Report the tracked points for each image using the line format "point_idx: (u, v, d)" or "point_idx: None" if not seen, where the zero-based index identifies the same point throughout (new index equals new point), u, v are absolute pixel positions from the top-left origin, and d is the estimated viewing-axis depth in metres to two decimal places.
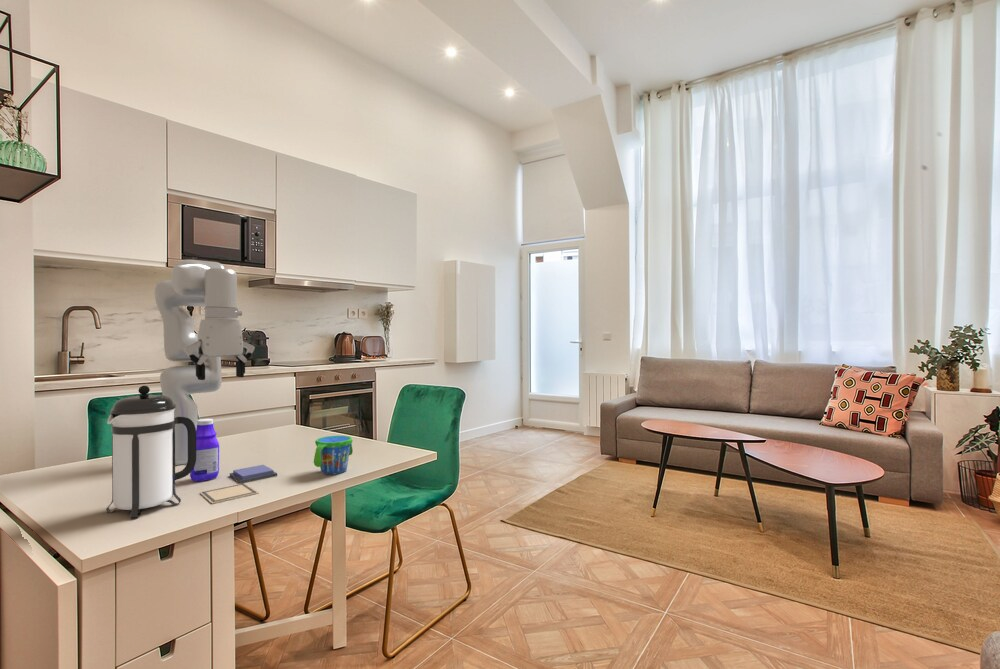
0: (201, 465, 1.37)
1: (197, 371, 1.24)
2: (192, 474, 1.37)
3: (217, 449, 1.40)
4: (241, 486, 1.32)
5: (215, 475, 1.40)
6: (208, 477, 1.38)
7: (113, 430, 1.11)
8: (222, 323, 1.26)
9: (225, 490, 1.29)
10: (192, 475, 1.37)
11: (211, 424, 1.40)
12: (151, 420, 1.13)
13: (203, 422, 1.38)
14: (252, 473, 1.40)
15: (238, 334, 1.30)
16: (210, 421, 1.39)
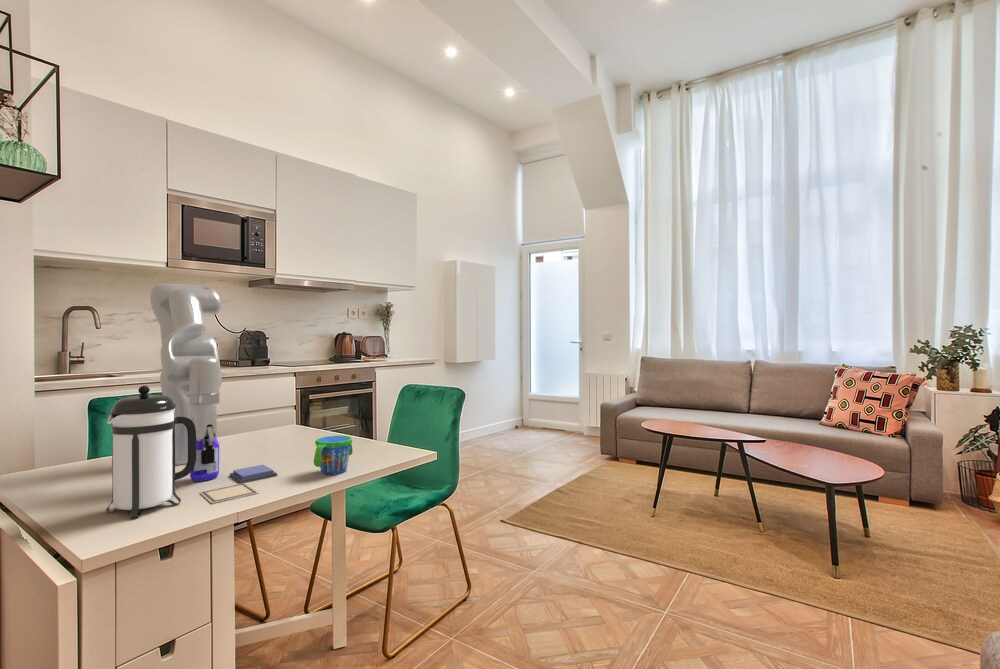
0: (201, 465, 1.37)
1: (210, 456, 1.37)
2: (192, 474, 1.37)
3: (217, 449, 1.40)
4: (241, 486, 1.32)
5: (215, 475, 1.40)
6: (208, 477, 1.38)
7: (113, 430, 1.11)
8: None
9: (225, 490, 1.29)
10: (192, 475, 1.37)
11: None
12: (151, 420, 1.13)
13: None
14: (252, 473, 1.40)
15: None
16: None
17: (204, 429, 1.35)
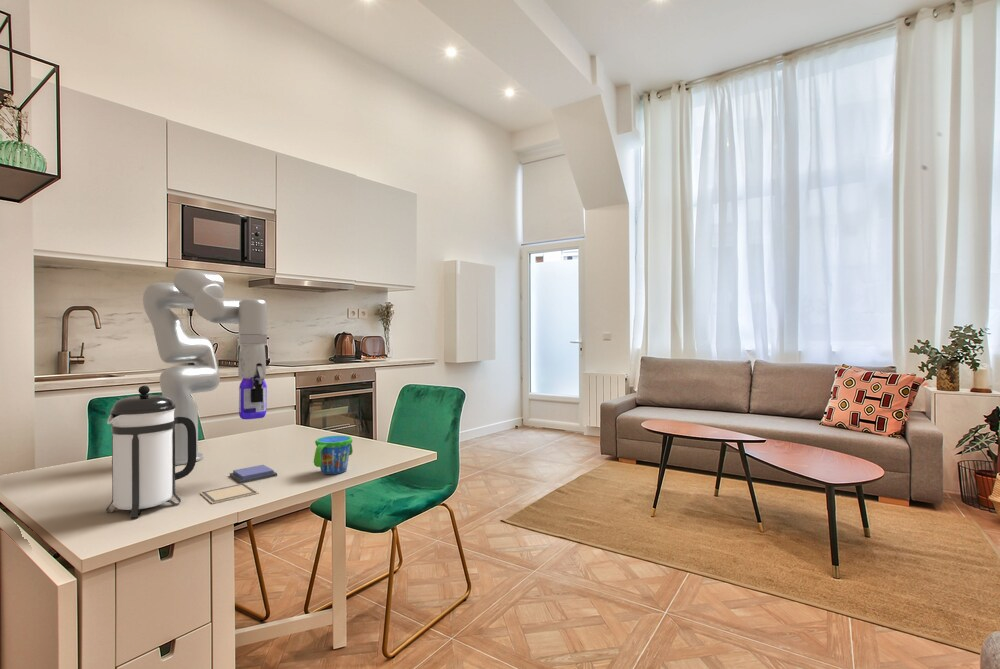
0: (250, 403, 1.40)
1: (259, 394, 1.40)
2: (242, 412, 1.40)
3: (265, 389, 1.43)
4: (241, 486, 1.32)
5: (263, 414, 1.43)
6: (257, 416, 1.41)
7: (113, 430, 1.11)
8: None
9: (225, 490, 1.29)
10: (242, 413, 1.40)
11: None
12: (151, 420, 1.13)
13: None
14: (252, 473, 1.40)
15: None
16: None
17: (254, 367, 1.38)
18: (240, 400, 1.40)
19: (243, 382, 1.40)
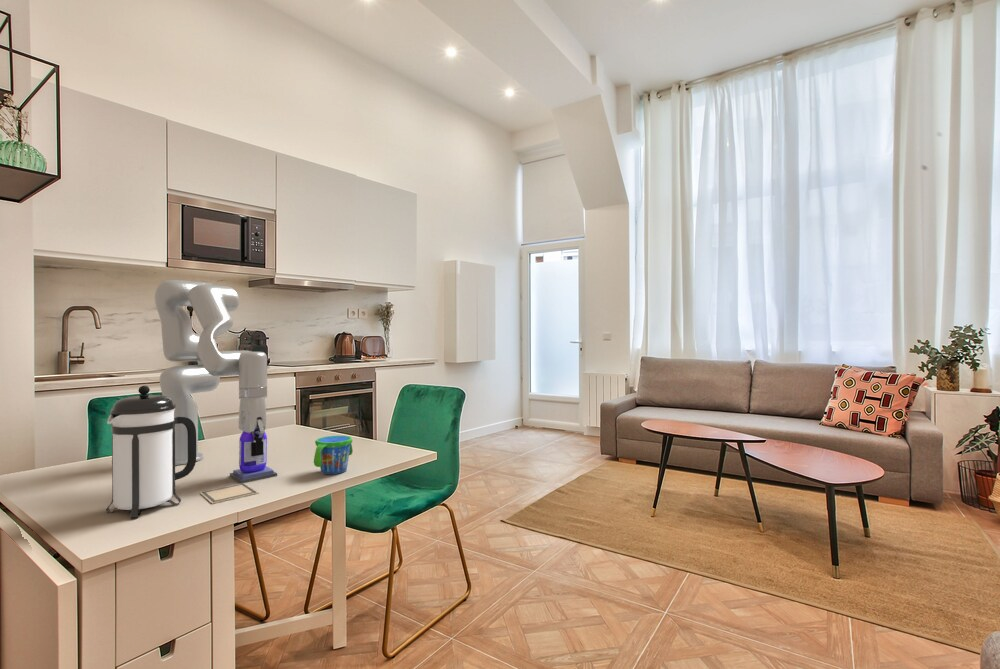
0: (250, 456, 1.40)
1: (259, 448, 1.40)
2: (242, 465, 1.40)
3: (265, 441, 1.43)
4: (241, 486, 1.32)
5: (263, 466, 1.43)
6: (257, 468, 1.41)
7: (113, 430, 1.11)
8: None
9: (225, 490, 1.29)
10: (242, 466, 1.40)
11: None
12: (151, 420, 1.13)
13: None
14: (252, 473, 1.40)
15: None
16: None
17: (254, 422, 1.38)
18: (240, 453, 1.40)
19: (243, 435, 1.40)
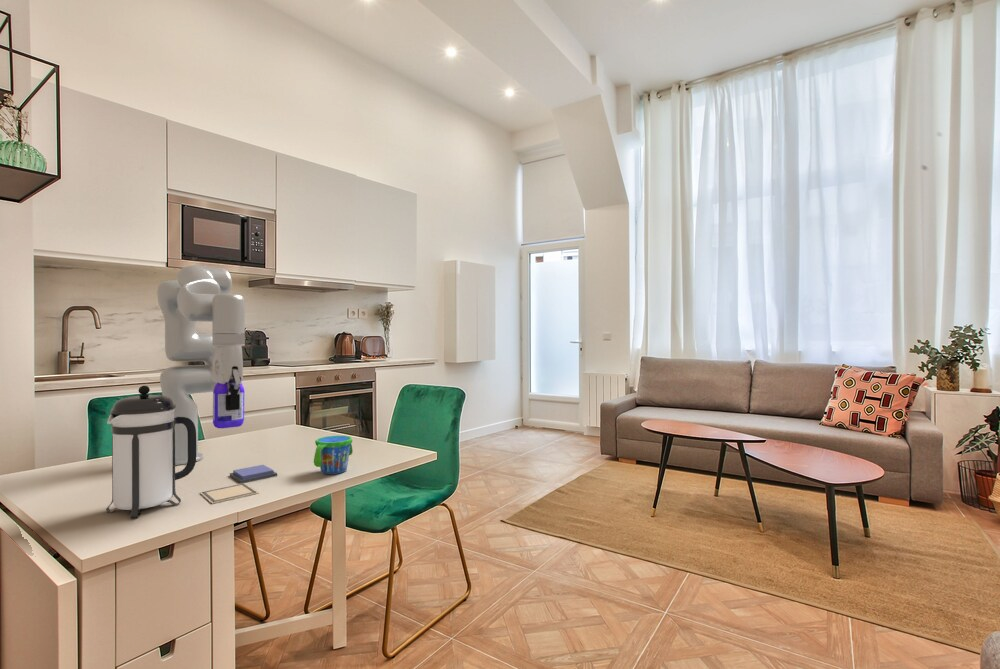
0: (225, 410, 1.24)
1: (235, 401, 1.25)
2: (215, 420, 1.24)
3: (242, 394, 1.28)
4: (241, 486, 1.32)
5: (240, 422, 1.27)
6: (233, 424, 1.26)
7: (113, 430, 1.11)
8: None
9: (225, 490, 1.29)
10: (215, 421, 1.24)
11: None
12: (151, 420, 1.13)
13: None
14: (252, 473, 1.40)
15: None
16: None
17: (229, 371, 1.23)
18: (214, 407, 1.25)
19: (217, 386, 1.25)
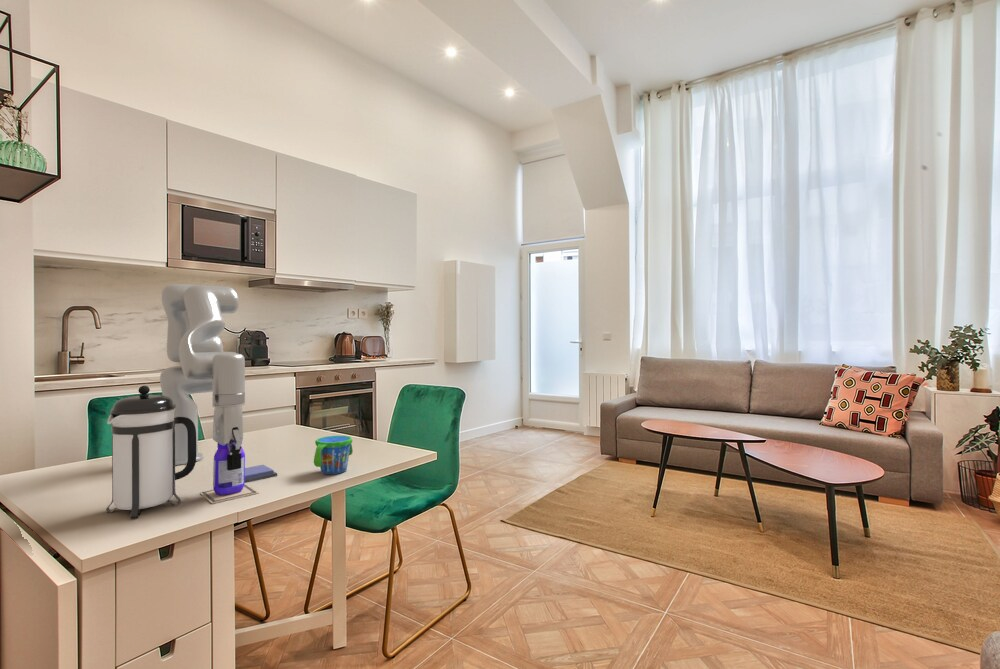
0: (225, 477, 1.25)
1: (236, 461, 1.24)
2: (216, 487, 1.24)
3: (243, 459, 1.28)
4: None
5: (241, 488, 1.28)
6: (233, 490, 1.26)
7: (113, 430, 1.11)
8: None
9: None
10: (216, 488, 1.24)
11: None
12: (151, 420, 1.13)
13: None
14: (252, 473, 1.40)
15: None
16: None
17: (229, 432, 1.23)
18: (214, 473, 1.25)
19: (218, 453, 1.25)
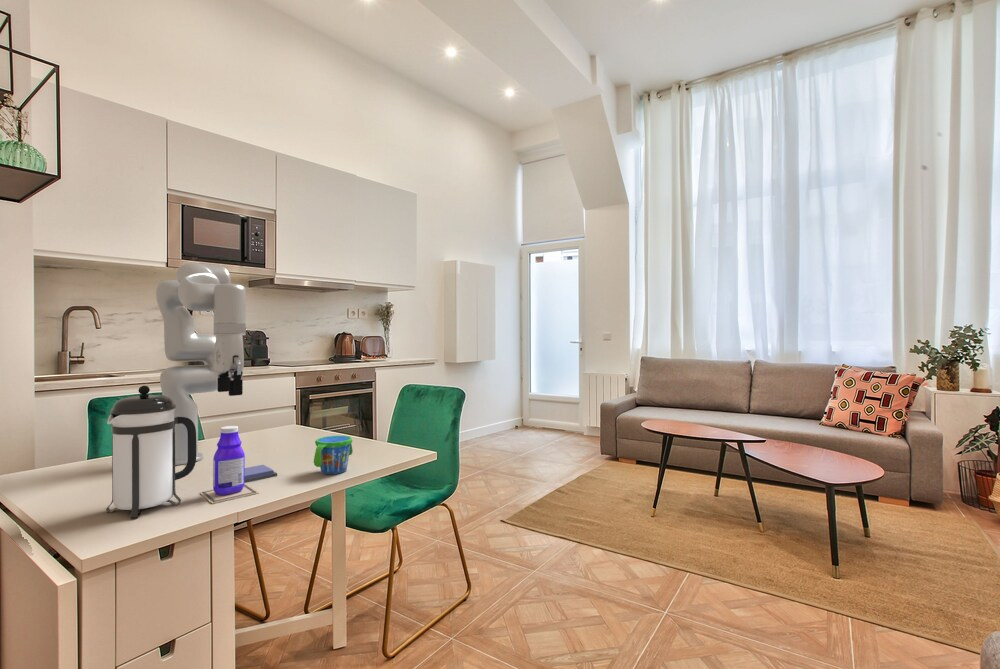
0: (225, 477, 1.25)
1: (238, 387, 1.25)
2: (216, 487, 1.24)
3: (243, 459, 1.28)
4: None
5: (241, 488, 1.28)
6: (233, 490, 1.26)
7: (113, 430, 1.11)
8: None
9: None
10: (216, 488, 1.24)
11: (236, 432, 1.27)
12: (151, 420, 1.13)
13: (228, 430, 1.26)
14: (252, 473, 1.40)
15: None
16: (235, 429, 1.27)
17: (230, 360, 1.24)
18: (214, 473, 1.25)
19: (218, 453, 1.25)
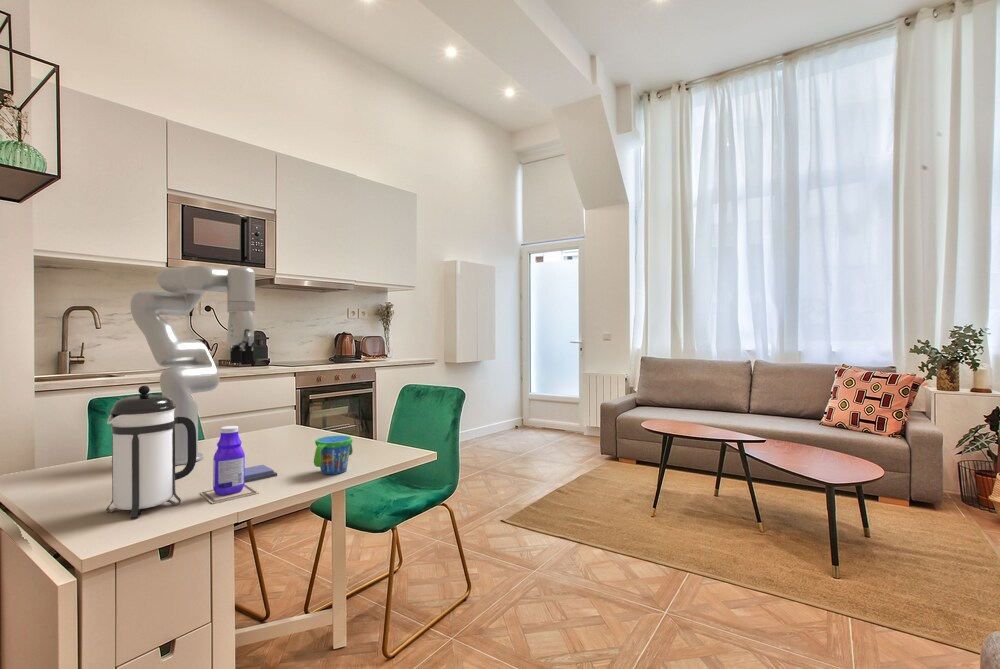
0: (225, 477, 1.25)
1: (249, 357, 1.43)
2: (216, 487, 1.24)
3: (243, 459, 1.28)
4: None
5: (241, 488, 1.28)
6: (233, 490, 1.26)
7: (113, 430, 1.11)
8: None
9: None
10: (216, 488, 1.24)
11: (236, 432, 1.27)
12: (151, 420, 1.13)
13: (228, 430, 1.26)
14: (252, 473, 1.40)
15: None
16: (235, 429, 1.27)
17: (242, 333, 1.42)
18: (214, 473, 1.25)
19: (218, 453, 1.25)
